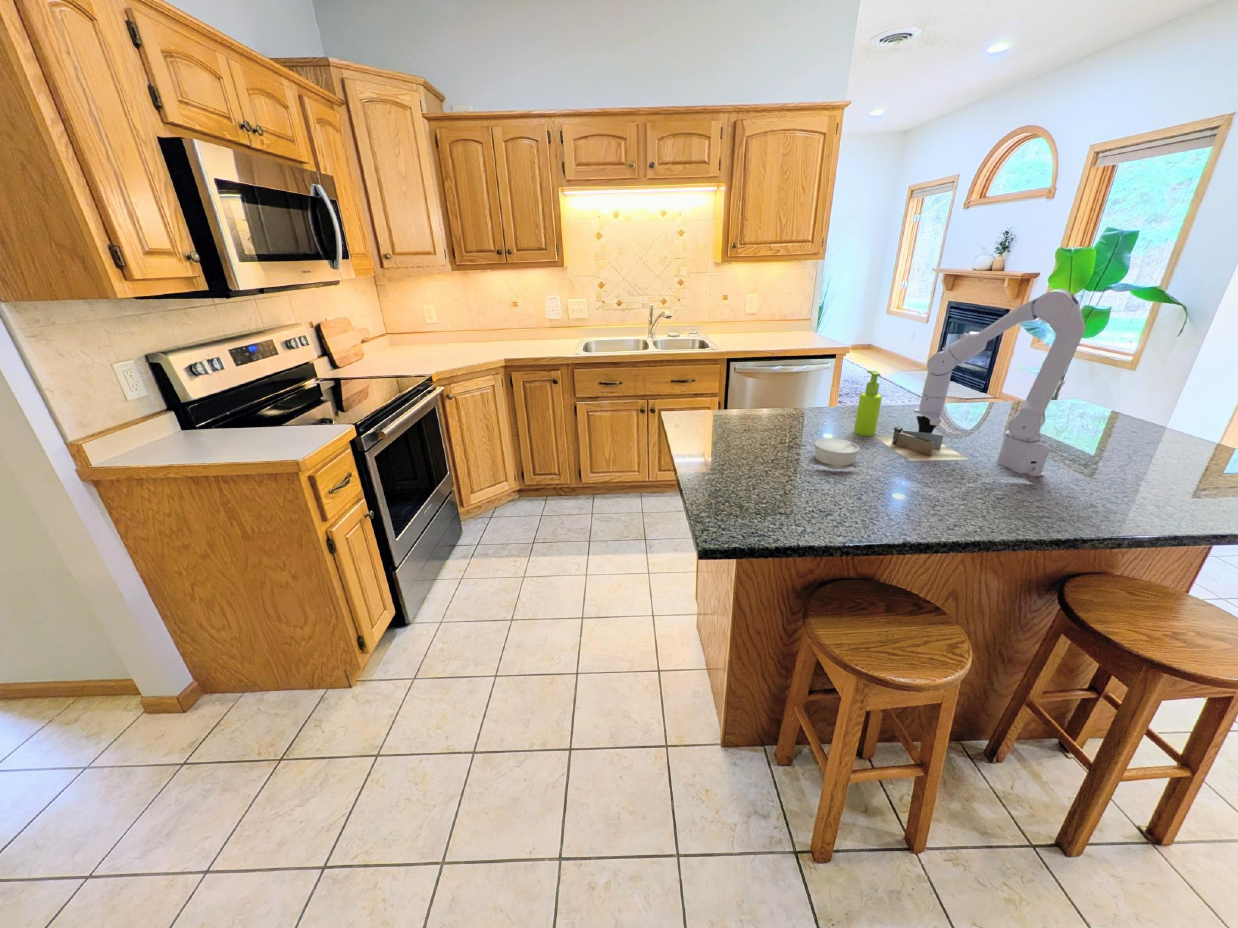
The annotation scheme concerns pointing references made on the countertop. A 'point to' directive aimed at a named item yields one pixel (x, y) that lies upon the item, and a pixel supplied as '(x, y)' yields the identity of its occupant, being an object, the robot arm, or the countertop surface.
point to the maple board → (937, 454)
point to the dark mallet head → (912, 443)
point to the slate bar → (927, 437)
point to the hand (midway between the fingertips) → (922, 441)
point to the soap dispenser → (868, 407)
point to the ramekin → (835, 452)
